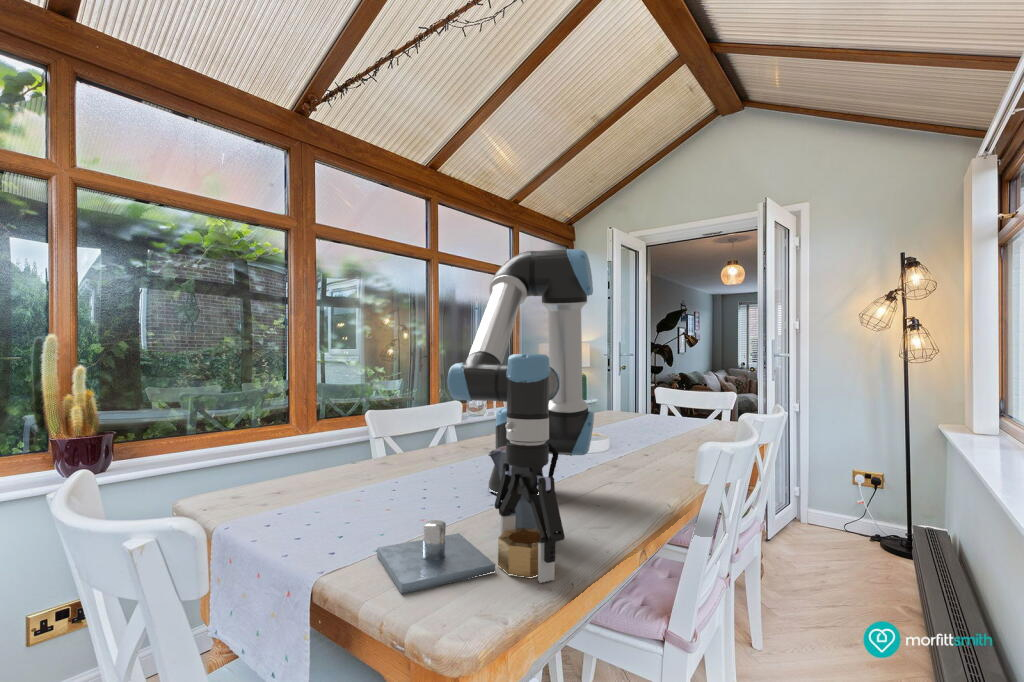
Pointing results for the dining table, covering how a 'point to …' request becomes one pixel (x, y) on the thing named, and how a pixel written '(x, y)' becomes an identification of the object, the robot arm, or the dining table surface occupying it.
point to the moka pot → (523, 507)
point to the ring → (519, 551)
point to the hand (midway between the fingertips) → (525, 565)
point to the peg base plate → (433, 560)
